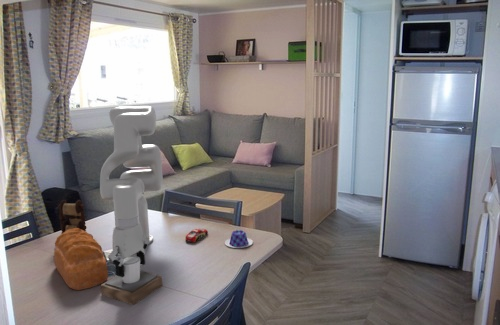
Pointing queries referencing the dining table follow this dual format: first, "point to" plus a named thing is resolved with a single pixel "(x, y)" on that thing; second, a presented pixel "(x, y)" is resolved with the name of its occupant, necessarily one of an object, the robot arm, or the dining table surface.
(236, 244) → the pudding
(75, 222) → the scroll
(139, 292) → the tray
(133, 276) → the shot glass
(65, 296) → the dining table surface
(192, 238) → the race car
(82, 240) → the bread
